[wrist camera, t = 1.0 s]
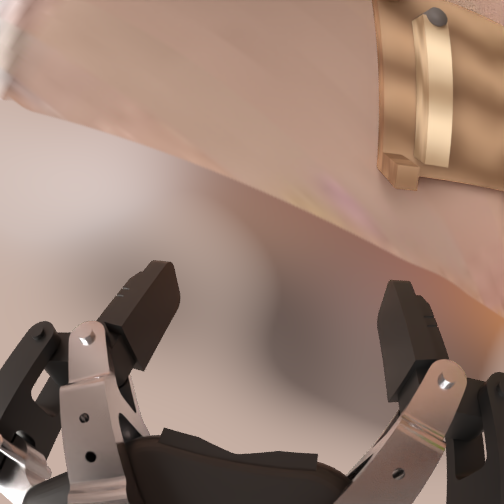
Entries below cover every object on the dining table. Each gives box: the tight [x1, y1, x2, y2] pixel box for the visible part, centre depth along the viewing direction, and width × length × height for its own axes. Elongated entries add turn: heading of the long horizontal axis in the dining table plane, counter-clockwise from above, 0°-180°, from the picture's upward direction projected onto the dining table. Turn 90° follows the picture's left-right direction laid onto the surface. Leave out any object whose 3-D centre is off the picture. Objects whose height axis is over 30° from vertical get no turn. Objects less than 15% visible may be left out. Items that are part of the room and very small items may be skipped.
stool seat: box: [372, 0, 504, 191], centre depth 16 cm, size 20×19×7 cm
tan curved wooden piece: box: [412, 7, 453, 168], centre depth 17 cm, size 15×2×4 cm, turn 3°
